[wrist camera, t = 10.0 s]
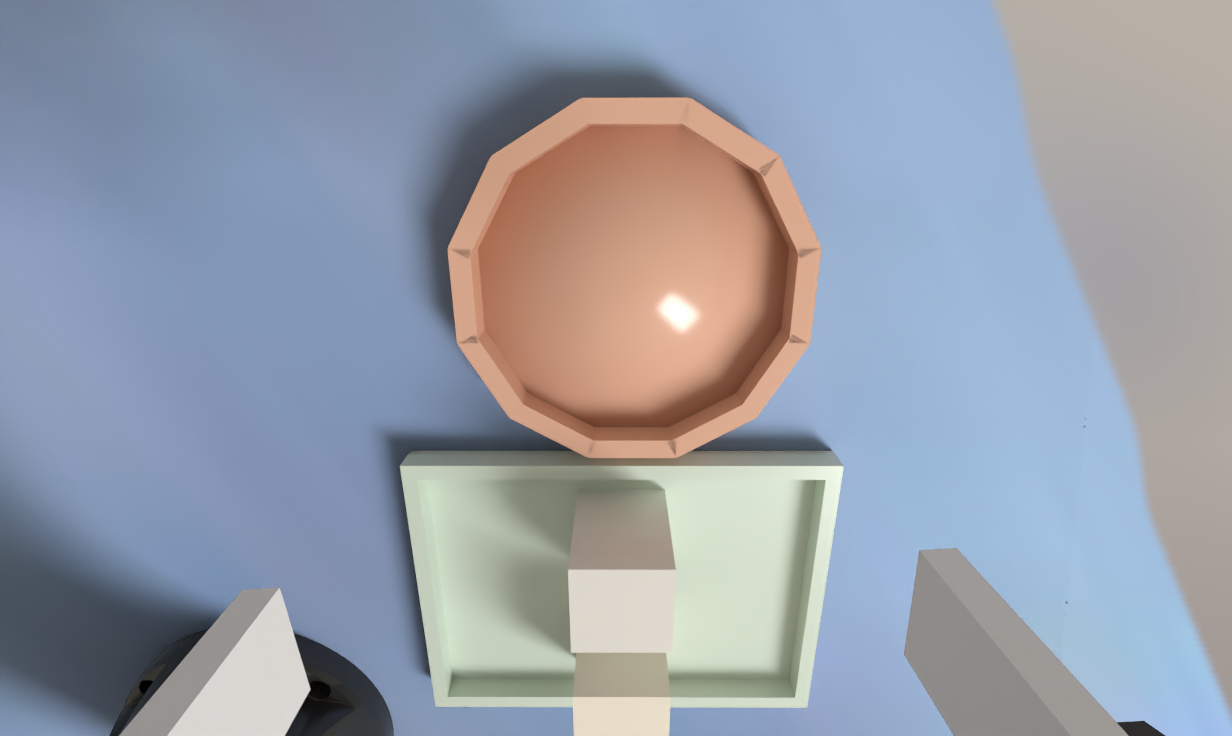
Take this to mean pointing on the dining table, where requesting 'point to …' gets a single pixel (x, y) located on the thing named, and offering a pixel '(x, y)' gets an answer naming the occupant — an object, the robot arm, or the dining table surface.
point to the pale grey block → (621, 573)
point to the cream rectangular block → (621, 694)
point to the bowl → (634, 277)
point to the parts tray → (539, 557)
